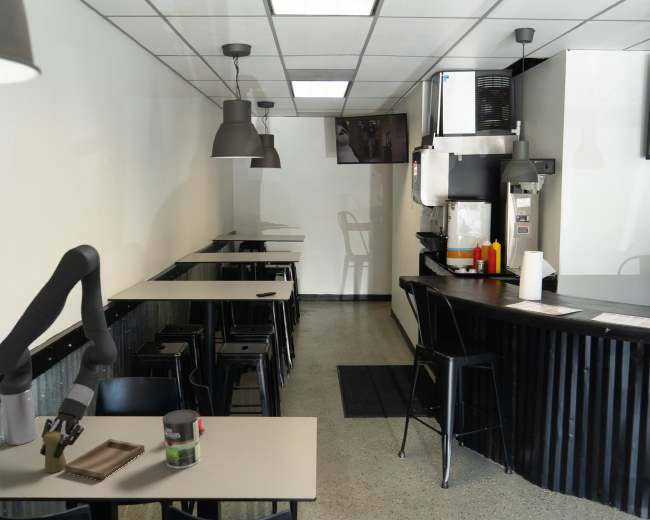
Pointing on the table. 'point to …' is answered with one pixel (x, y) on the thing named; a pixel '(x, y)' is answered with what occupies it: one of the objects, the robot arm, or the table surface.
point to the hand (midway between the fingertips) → (49, 455)
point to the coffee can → (181, 438)
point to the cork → (51, 443)
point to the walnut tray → (104, 459)
